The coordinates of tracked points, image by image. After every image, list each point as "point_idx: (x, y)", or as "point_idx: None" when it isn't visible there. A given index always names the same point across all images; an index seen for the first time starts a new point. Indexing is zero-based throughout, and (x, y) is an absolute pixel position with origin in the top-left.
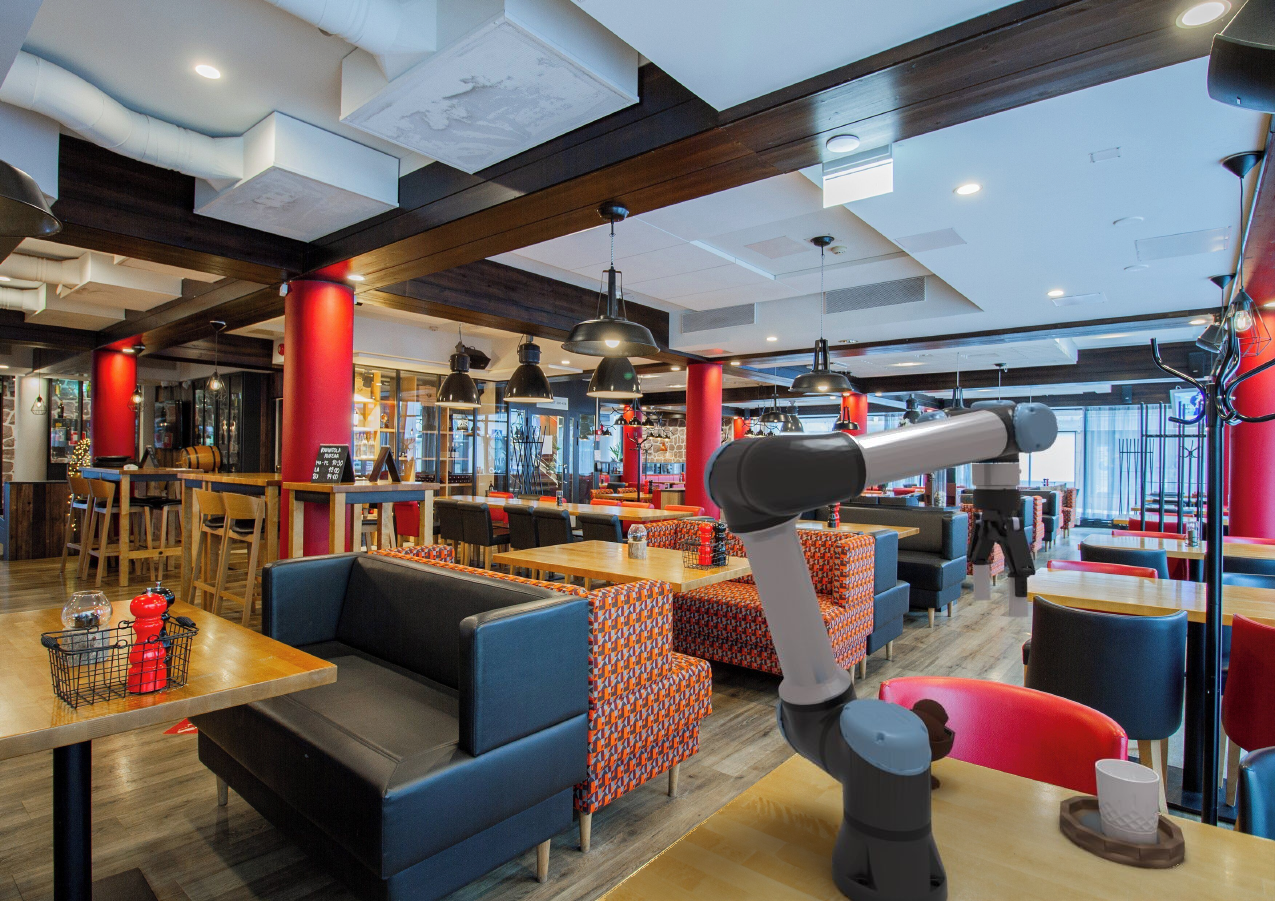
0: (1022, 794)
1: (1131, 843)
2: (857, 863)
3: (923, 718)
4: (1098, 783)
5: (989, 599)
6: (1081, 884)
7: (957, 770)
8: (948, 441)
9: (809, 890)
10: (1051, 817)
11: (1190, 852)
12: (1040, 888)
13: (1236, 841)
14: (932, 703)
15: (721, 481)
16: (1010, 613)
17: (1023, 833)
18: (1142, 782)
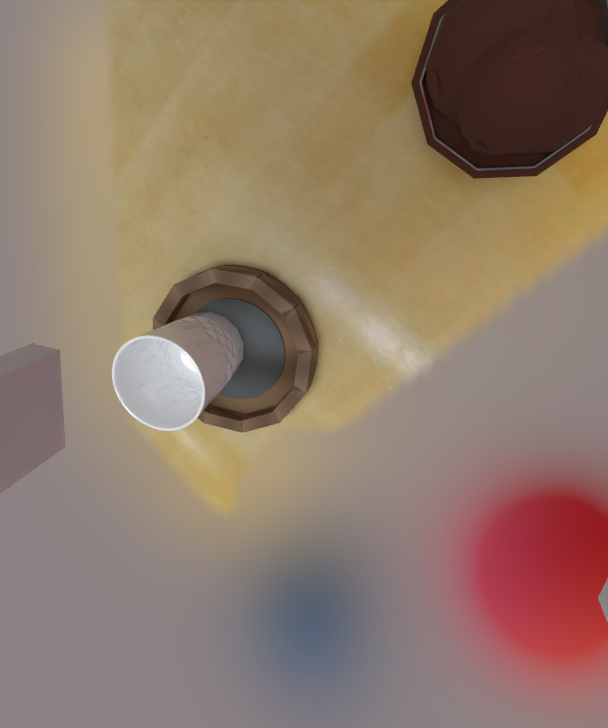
0: (396, 296)
1: (165, 317)
2: None
3: (463, 30)
4: (181, 331)
5: (605, 597)
6: (130, 192)
7: (534, 225)
8: None
9: None
10: (309, 288)
11: None
12: (118, 117)
13: (225, 488)
14: (500, 84)
15: None
16: (31, 351)
17: (264, 198)
18: (112, 370)
